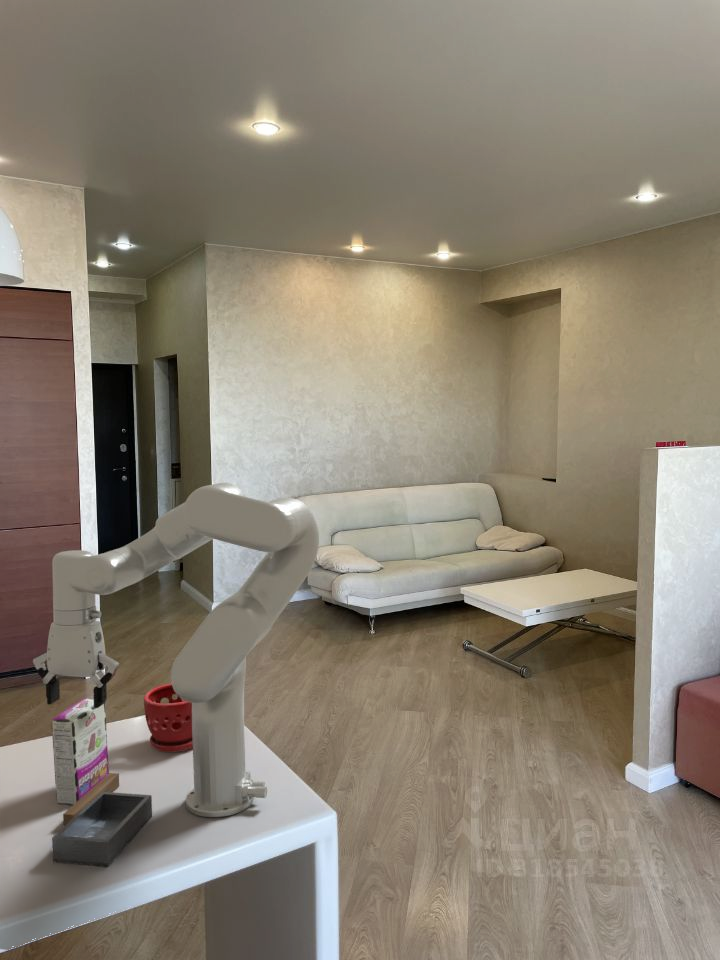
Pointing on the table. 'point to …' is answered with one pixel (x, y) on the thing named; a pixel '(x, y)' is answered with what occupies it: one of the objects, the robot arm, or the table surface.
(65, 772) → the candy bar box
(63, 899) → the table surface
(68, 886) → the table surface
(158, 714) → the plant pot
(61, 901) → the table surface
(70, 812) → the door edge rail
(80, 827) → the keeper
